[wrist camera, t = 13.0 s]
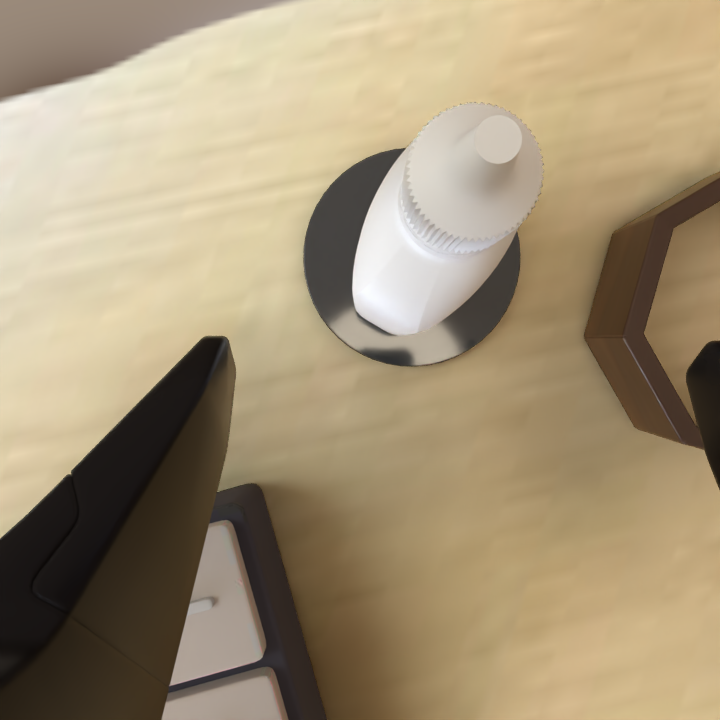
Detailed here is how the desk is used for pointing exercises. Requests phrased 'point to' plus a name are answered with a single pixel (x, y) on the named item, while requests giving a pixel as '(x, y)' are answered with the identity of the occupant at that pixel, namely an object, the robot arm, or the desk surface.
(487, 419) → the desk surface
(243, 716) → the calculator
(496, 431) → the desk surface
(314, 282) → the coaster
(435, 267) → the eye dropper bottle
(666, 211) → the rack
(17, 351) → the desk surface
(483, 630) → the desk surface
